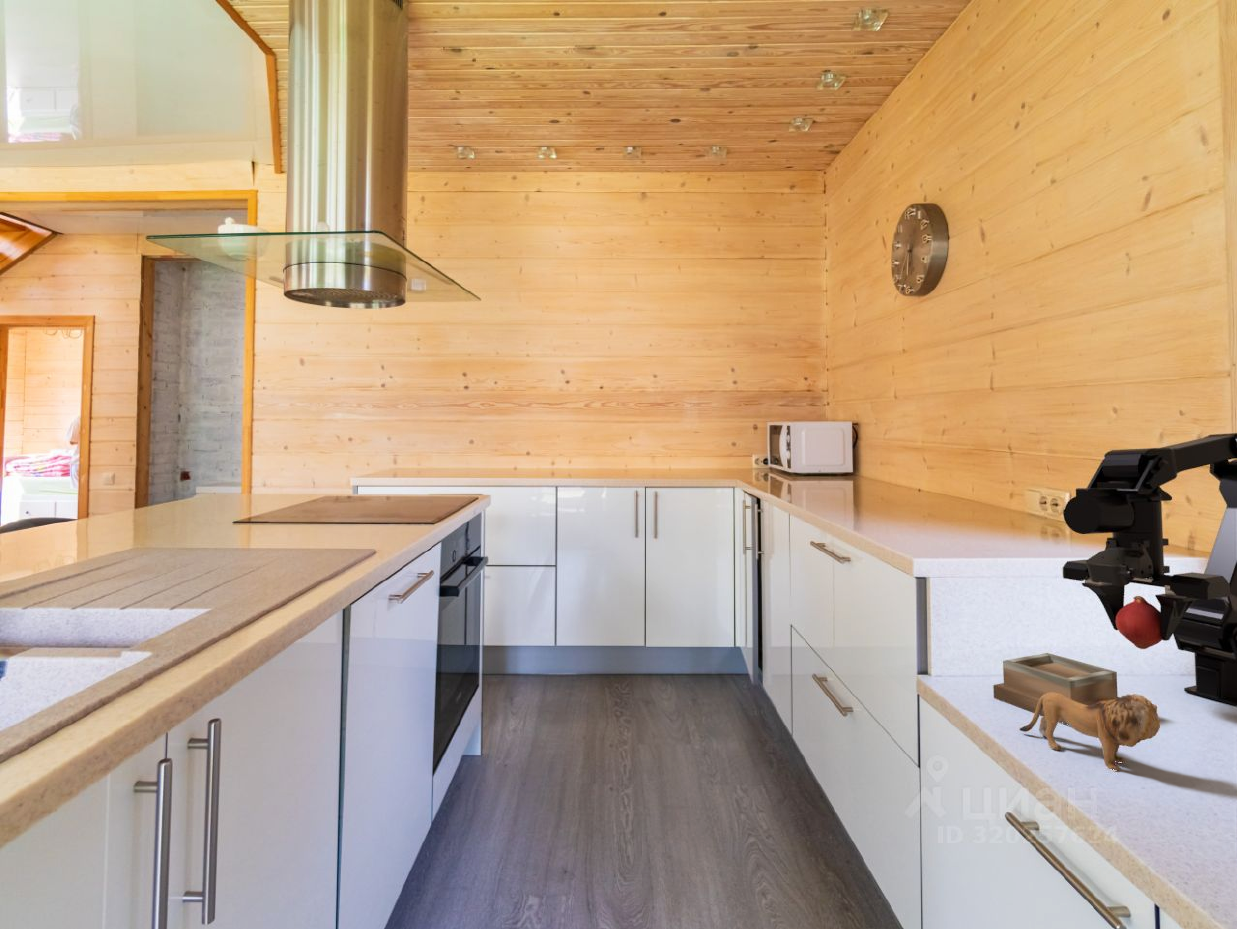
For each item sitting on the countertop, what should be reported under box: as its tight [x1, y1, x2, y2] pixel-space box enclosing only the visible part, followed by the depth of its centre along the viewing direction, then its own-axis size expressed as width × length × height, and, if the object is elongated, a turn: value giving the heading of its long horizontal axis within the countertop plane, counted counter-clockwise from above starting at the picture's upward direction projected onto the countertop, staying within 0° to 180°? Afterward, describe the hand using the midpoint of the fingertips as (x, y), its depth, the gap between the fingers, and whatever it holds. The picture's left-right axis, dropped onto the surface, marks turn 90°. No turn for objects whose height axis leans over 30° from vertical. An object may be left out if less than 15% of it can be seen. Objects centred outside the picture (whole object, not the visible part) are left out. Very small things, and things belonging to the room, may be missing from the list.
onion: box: [1116, 595, 1163, 650], centre depth 88 cm, size 6×6×8 cm
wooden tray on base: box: [992, 652, 1121, 726], centre depth 89 cm, size 12×12×6 cm
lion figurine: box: [1018, 693, 1161, 771], centre depth 74 cm, size 15×5×9 cm, turn 35°
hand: (1140, 634), depth 88 cm, fingers closed on onion, 6 cm apart
